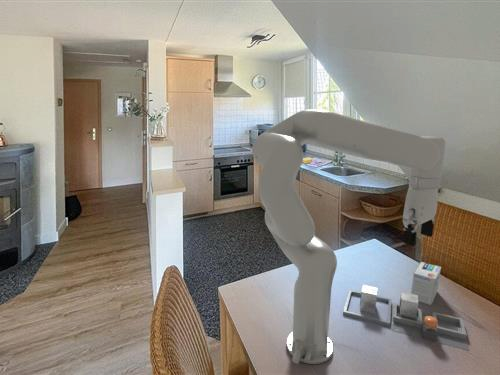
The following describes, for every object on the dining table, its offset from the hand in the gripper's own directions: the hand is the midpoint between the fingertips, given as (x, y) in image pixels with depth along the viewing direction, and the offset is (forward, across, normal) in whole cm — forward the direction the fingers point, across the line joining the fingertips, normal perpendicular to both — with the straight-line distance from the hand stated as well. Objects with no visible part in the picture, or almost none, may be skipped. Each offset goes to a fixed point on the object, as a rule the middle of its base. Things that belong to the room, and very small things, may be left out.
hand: (418, 239), depth 92 cm
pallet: (+27, -1, +5) cm, 28 cm away
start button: (+23, +3, +7) cm, 24 cm away
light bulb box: (+28, -17, -4) cm, 33 cm away
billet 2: (+26, 0, -1) cm, 26 cm away
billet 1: (+26, +6, -11) cm, 29 cm away
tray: (+27, +6, -11) cm, 30 cm away
